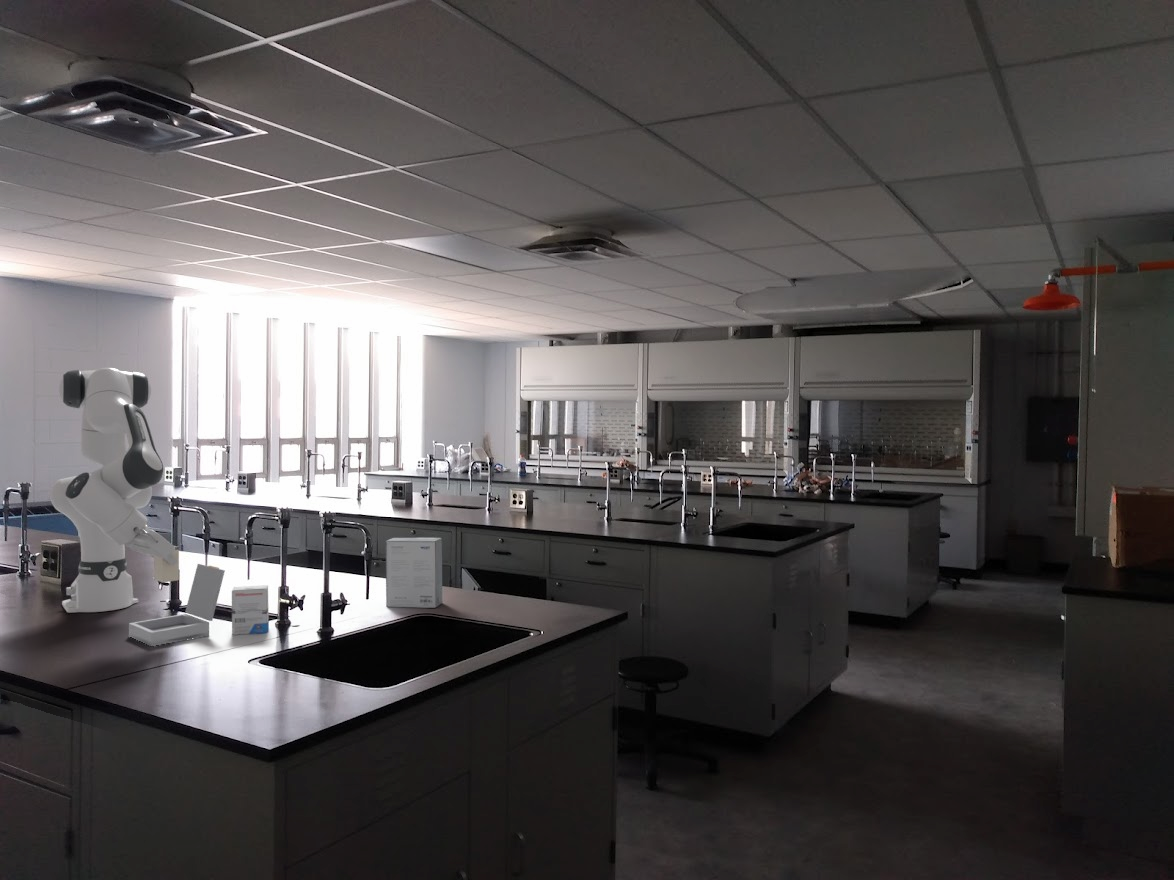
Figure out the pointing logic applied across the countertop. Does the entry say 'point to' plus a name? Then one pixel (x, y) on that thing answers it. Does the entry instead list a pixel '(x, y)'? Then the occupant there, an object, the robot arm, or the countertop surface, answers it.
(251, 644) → the countertop surface
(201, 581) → the case lid
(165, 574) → the block
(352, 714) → the countertop surface
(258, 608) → the ink box
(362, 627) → the countertop surface
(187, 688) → the countertop surface
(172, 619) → the case
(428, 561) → the hard drive box
